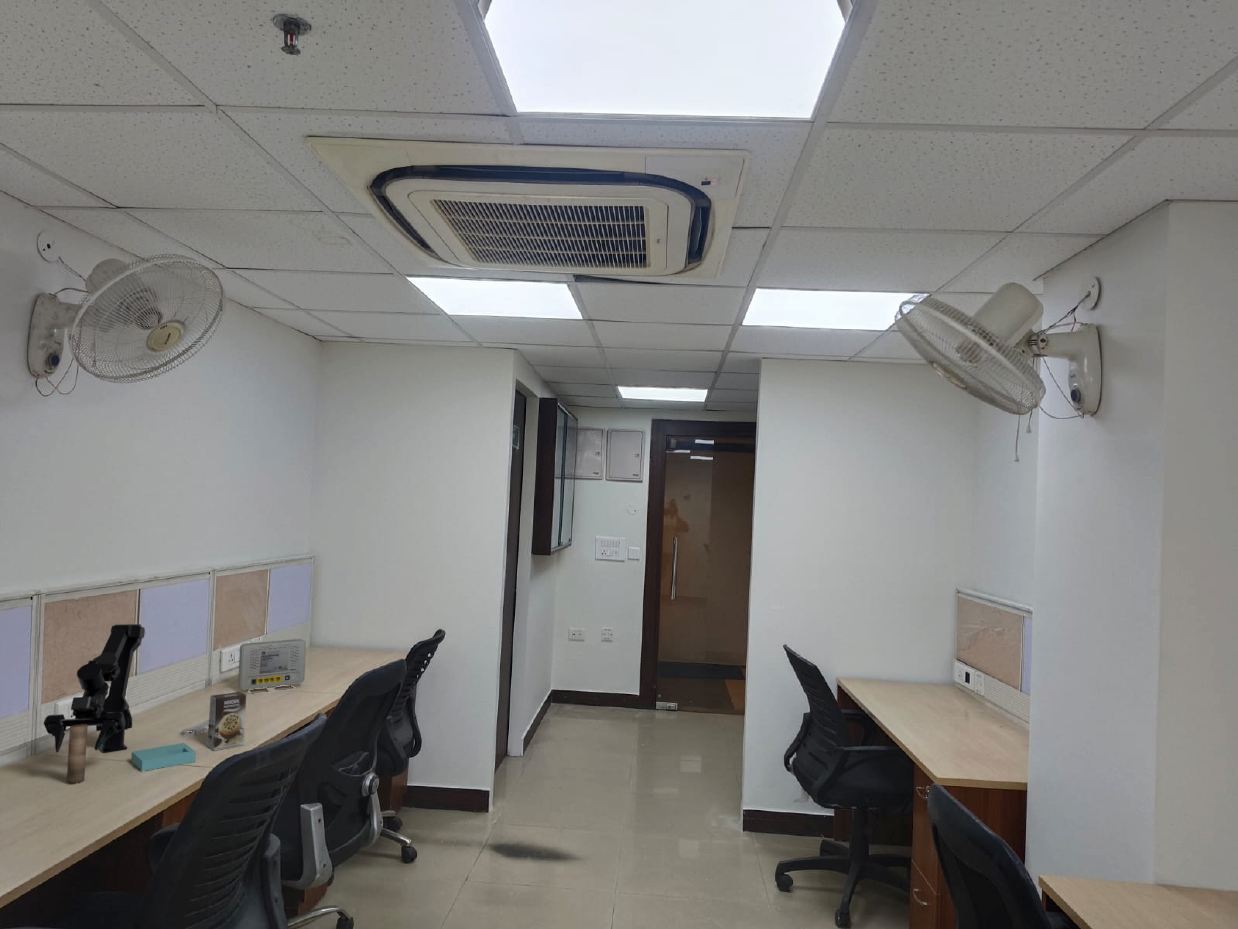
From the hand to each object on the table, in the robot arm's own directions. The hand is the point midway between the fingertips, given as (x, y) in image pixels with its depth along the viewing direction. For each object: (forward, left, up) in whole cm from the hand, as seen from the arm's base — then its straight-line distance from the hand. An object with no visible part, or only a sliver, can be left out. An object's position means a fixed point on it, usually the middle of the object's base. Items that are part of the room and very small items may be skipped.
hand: (76, 750), depth 216 cm
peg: (-1, 0, -9) cm, 9 cm away
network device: (-82, +83, -9) cm, 117 cm away
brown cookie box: (-10, +42, -9) cm, 44 cm away
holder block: (-5, +23, -9) cm, 25 cm away
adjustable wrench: (-39, +45, -9) cm, 61 cm away
